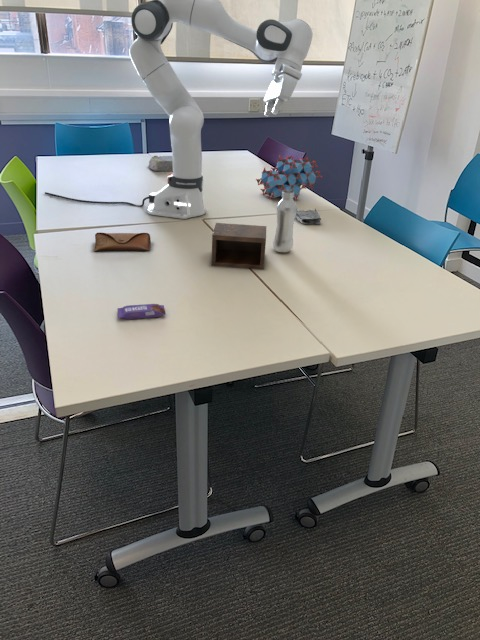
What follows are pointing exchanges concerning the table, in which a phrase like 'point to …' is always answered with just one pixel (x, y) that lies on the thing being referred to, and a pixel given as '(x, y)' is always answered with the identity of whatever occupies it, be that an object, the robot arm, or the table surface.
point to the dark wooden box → (238, 245)
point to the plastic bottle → (285, 222)
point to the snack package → (141, 311)
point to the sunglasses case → (122, 242)
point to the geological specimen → (161, 163)
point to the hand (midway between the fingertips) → (270, 114)
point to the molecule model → (288, 177)
